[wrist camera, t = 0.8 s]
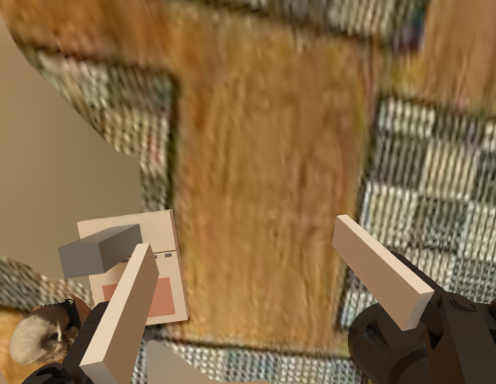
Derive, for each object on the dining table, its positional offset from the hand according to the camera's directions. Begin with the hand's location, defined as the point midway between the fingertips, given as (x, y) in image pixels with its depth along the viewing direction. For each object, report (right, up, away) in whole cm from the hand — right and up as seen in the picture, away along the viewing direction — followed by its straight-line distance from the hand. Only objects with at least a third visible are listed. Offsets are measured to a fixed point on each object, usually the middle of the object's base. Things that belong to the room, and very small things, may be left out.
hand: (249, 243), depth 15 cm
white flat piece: (-20, -14, +24) cm, 34 cm away
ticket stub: (-21, -4, +23) cm, 31 cm away
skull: (-35, -21, +24) cm, 48 cm away
